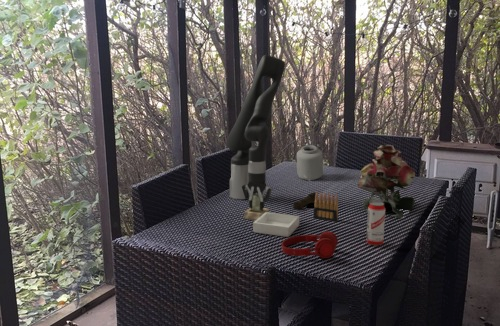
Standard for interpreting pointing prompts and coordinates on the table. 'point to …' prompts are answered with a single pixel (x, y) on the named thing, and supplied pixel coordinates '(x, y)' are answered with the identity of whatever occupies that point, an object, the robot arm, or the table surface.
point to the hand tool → (304, 201)
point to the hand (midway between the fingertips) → (256, 208)
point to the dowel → (256, 203)
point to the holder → (254, 214)
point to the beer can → (375, 223)
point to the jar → (309, 163)
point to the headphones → (322, 247)
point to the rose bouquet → (387, 180)
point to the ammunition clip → (326, 208)
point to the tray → (276, 224)
